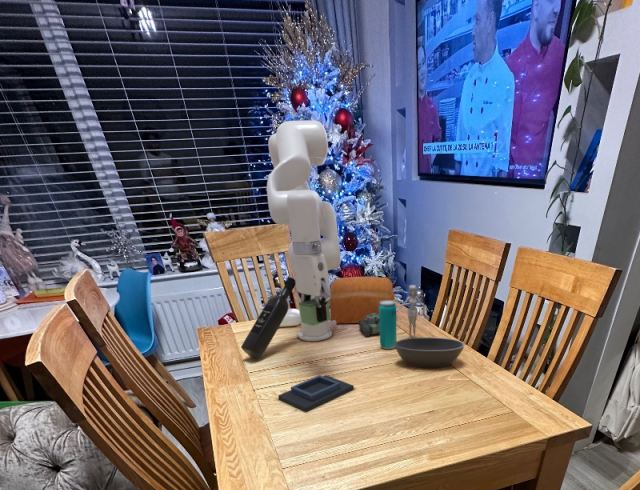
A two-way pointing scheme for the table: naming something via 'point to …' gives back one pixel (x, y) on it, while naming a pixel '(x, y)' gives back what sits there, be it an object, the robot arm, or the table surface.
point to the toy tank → (370, 325)
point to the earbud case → (291, 318)
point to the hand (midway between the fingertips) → (315, 318)
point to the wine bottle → (268, 322)
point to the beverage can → (387, 324)
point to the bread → (358, 297)
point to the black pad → (315, 392)
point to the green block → (311, 312)
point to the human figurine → (412, 308)
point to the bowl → (429, 351)
